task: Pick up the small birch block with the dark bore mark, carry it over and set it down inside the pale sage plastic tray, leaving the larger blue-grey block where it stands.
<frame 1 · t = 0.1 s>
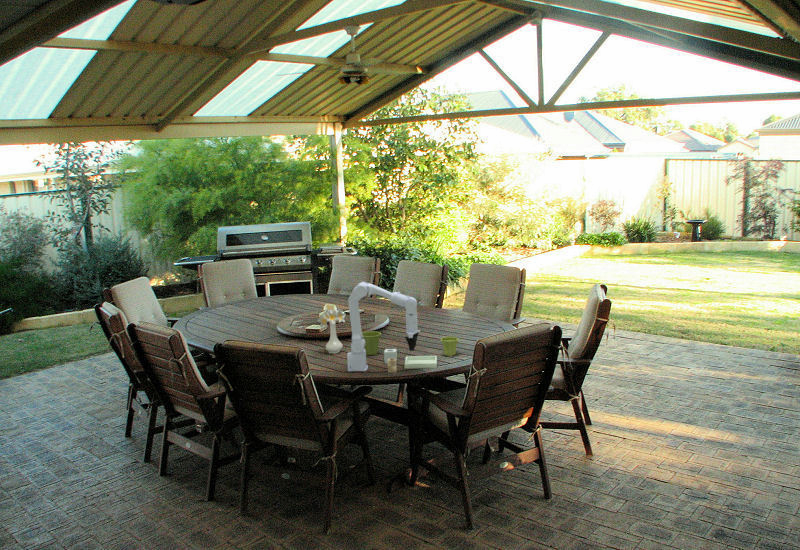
hand: (412, 348, 313), 10 cm above the table, tool pointing down, fingers open, 7 cm apart
tray: (421, 364, 320), on the table
small block: (392, 371, 311), on the table
flower vase: (334, 353, 350), on the table
plant pot: (450, 355, 335), on the table
plant pot 2: (371, 354, 344), on the table
large block: (390, 361, 328), on the table
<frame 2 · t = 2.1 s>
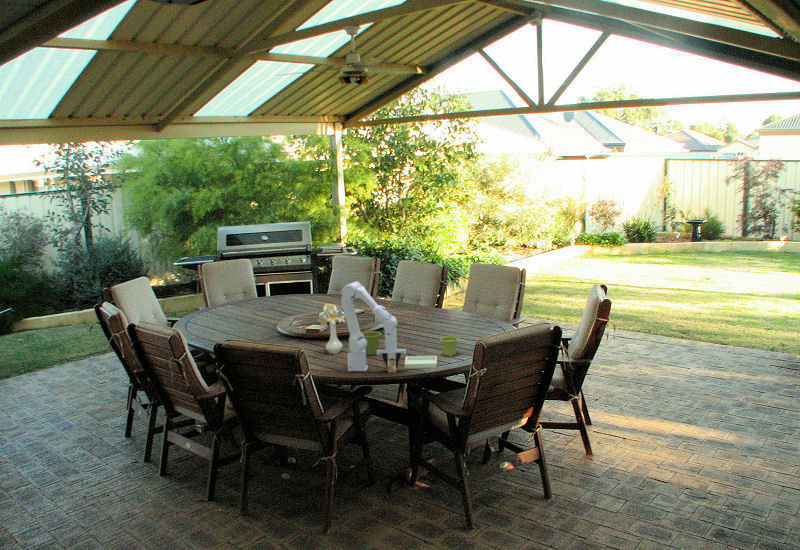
hand: (392, 368, 310), 2 cm above the table, tool pointing down, fingers closed on small block, 4 cm apart
small block: (392, 371, 311), on the table, touching gripper
everything else where it was.
when the fingers open (4 cm above the table, at t = 5.4 s): small block drops 1 cm, resting on tray.
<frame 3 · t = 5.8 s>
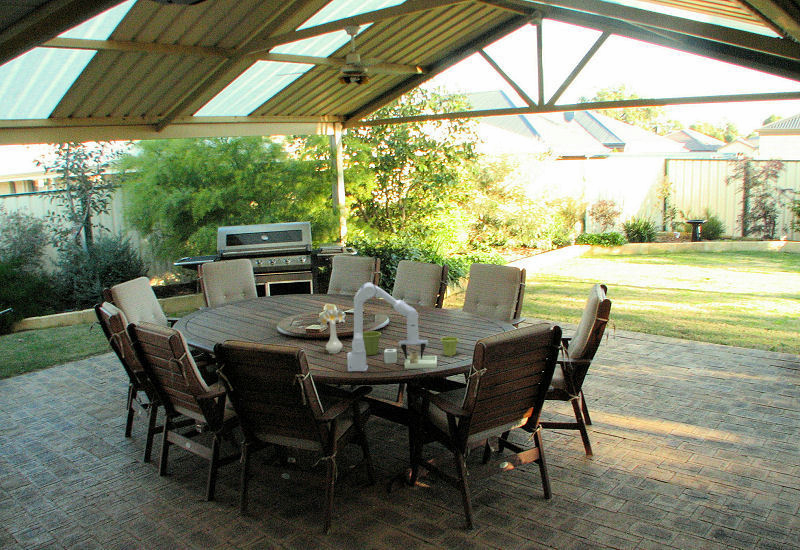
hand: (413, 358, 318), 4 cm above the table, tool pointing down, fingers open, 7 cm apart
small block: (414, 364, 319), point 1 cm above the table, touching tray
everything else where it was.
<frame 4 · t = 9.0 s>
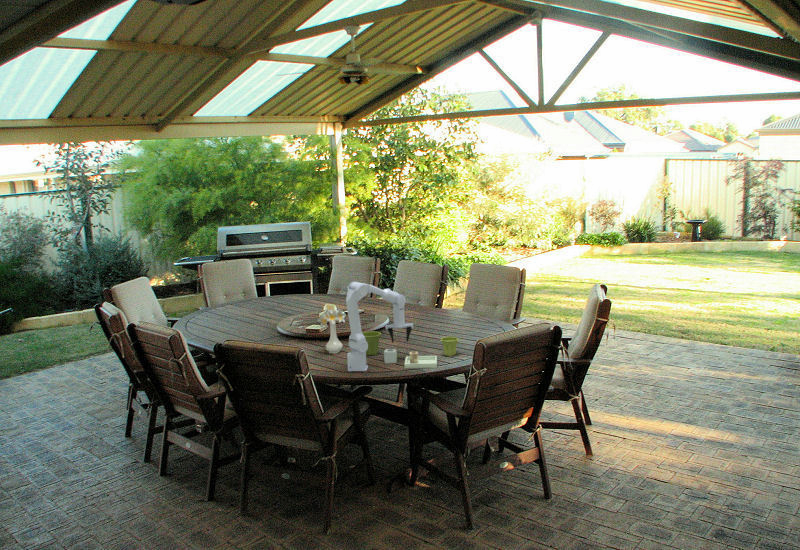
hand: (400, 341, 330), 9 cm above the table, tool pointing down, fingers open, 7 cm apart
nothing on the table moved.
at the end: small block inside the target area on the tray (3.7 cm from its centre), point 0.6 cm above the tray's base; small block tilted 0°; the gripper is holding nothing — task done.
